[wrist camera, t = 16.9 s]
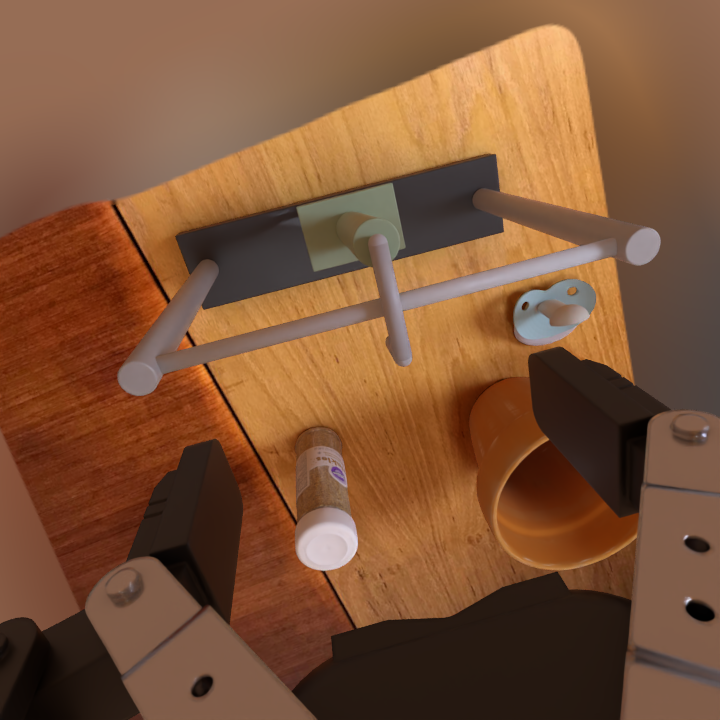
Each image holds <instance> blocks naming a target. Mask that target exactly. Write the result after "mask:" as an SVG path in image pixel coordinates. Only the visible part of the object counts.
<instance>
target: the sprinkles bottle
mask: <svg viewBox="0 0 720 720" xmlns="http://www.w3.org/2000/svg"><path fill="white" fill-rule="evenodd" d="M295 452H296V460H297V462H296V507H297V526H296V529H295V548H296V554H297V556H298V558H299V559H300V561H301V562H302V563H303V564H304V565H306V566H308V567H309V568H312V569H315V570H322V571H325V570H333V569H336V568H339V567H341V566H343V565H345V564H346V563H348V562H349V561H350V560H351V559H352V558H353V556H354V555H355V553H356V551H357V546H358V539H357V531H356V526H355V523H354V521H353V519H352V517H351V509H350V503H349V497H348V490H347V478H346V472H345V465H344V461H343V457H342V443H341V440H340V438H339V436H338V435H337V434H336V433H335V432H334V431H333V430H331V429H329V428H325V427H315V428H311V429H308V430H306V431H305V432H303V433H302V434H301V435H300V436H299V437H298V439H297V441H296V444H295Z"/></svg>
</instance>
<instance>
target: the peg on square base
mask: <svg viewBox="0 0 720 720" xmlns="http://www.w3.org/2000/svg"><path fill="white" fill-rule="evenodd" d="M296 209H297V213H298V216H299V220H300V224H301V227H302V231H303V235H304V238H305V242H306V246H307V249H308V253H309V257H310V261H311V264H312V268H313V271H314V272H316V271H320V270H324V269H327V268H331V267H335V266H339V265H343V264H347V263H350V262H354V261H358V260H359V261H360V262H361V263H363V264H365V265H367V266H369V267H373V269H374V274H375V278H376V282H377V287H378V291H379V295H380V300H381V304H382V308H383V313H384V317H385V321H386V326H387V330H388V334H389V336H388V337H387V338H386V346H387V348H388V350H389V352H390V353H391V355H392V357H393V359H394V361H395V362H396V364H398V365H399V366H403V367H404V366H407V365H409V364H410V363H411V361H412V352H411V347H410V343H409V338H408V334H407V329H406V324H405V320H404V315H403V311H402V306H401V301H400V297H399V292H398V288H397V283H396V278H395V274H394V269H393V265H392V260H393V259H394V258H395V257H396V255H397V253H398V251H399V250H400V249H404V248H405V242H404V237H403V232H402V227H401V222H400V218H399V213H398V208H397V203H396V198H395V193H394V189H393V184H392V183H388V184H383V185H379V186H375V187H371V188H367V189H363V190H360V191H356V192H352V193H348V194H344V195H340V196H336V197H332V198H328V199H324V200H320V201H317V202H313V203H309V204H305V205H301V206H297V207H296Z"/></svg>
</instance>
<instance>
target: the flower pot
mask: <svg viewBox="0 0 720 720" xmlns="http://www.w3.org/2000/svg"><path fill="white" fill-rule="evenodd" d="M469 430H470V435H471V439H472V444H473V448H474V452H475V456H476V460H477V465H478V468H479V471H478V476H477V496H478V501H479V504H480V507H481V510H482V512H483V514H484V517H485V519H486V521H487V523H488V525H489V527H490V529H491V531H492V533H493V535H494V537H495V539H496V540H497V542H498V544H499V545H500V546H501V548H502V549H503V550H504V551H505V552H506V553H507V554H508V555H509V556H511V557H512V558H513V559H515V560H517V561H518V562H520V563H523V564H525V565H527V566H530V567H534V568H538V569H545V570H568V569H574V568H579V567H583V566H586V565H590V564H593V563H595V562H598V561H600V560H602V559H605V558H607V557H609V556H610V555H612V554H614V553H616V552H617V551H619V550H621V549H622V548H624V547H625V546H626V545H628V544H629V543H630V542H632V541H633V540H634V539H635V538H636V537H637V531H638V519H639V513H636V514H632V515H629V516H625V517H622V518H619V517H618V516H617V515H616V514H615V513H614V511H613V510H612V509H611V508H610V507H609V506H608V505H607V504H606V503H605V501H604V500H603V499H602V498H601V497H600V496H599V495H598V494H597V492H596V491H595V490H594V489H593V488H592V487H591V486H590V485H589V483H588V482H587V481H586V480H585V479H584V478H583V477H582V476H581V475H580V473H579V472H578V471H577V470H576V469H575V468H574V467H573V466H572V464H571V463H570V462H569V461H568V460H567V459H566V458H565V457H564V455H563V454H562V453H561V452H560V451H559V450H558V449H557V448H556V447H555V445H554V444H553V443H552V442H551V441H550V440H549V439H548V438H547V436H546V435H545V434H544V433H543V432H542V431H541V429H540V428H539V426H538V424H537V422H536V420H535V417H534V413H533V409H532V399H531V388H530V378H527V377H513V378H508V379H505V380H502V381H499V382H497V383H495V384H494V385H492V386H490V387H489V388H488V389H486V390H485V391H484V392H483V393H482V394H481V395H480V397H479V398H478V399H477V401H476V402H475V404H474V405H473V408H472V410H471V413H470V418H469Z"/></svg>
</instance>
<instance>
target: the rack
mask: <svg viewBox="0 0 720 720" xmlns="http://www.w3.org/2000/svg"><path fill="white" fill-rule="evenodd" d="M388 183H392V184H393V189H394V193H395V198H396V203H397V208H398V213H399V218H400V222H401V227H402V232H403V237H404V242H405V248H404V249H400V250H399V251H398V253H397V255H396V257H395V258H394V259H393V260H392V261H394V260H398V259H402V258H405V257H409V256H413V255H417V254H421V253H425V252H429V251H432V250H436V249H440V248H444V247H448V246H452V245H456V244H459V243H463V242H467V241H471V240H475V239H479V238H483V237H486V236H490V235H494V234H498V233H502V232H504V228H503V218H504V219H507V220H510V221H512V222H515V223H518V224H521V225H524V226H526V227H529V228H532V229H535V230H538V231H540V232H543V233H546V234H549V235H551V236H554V237H557V238H560V239H563V240H565V241H568V242H571V243H574V244H577V245H579V247H575V248H571V249H567V250H563V251H559V252H556V253H552V254H548V255H544V256H540V257H536V258H533V259H529V260H525V261H521V262H517V263H513V264H510V265H506V266H502V267H498V268H494V269H490V270H487V271H483V272H479V273H475V274H471V275H467V276H464V277H460V278H456V279H452V280H448V281H444V282H441V283H437V284H433V285H429V286H425V287H421V288H418V289H414V290H410V291H406V292H402V293H399V297H400V301H401V306H402V311H406V310H410V309H413V308H417V307H421V306H425V305H429V304H432V303H436V302H440V301H444V300H448V299H452V298H455V297H459V296H463V295H467V294H471V293H475V292H478V291H482V290H486V289H490V288H494V287H497V286H501V285H505V284H509V283H513V282H517V281H520V280H524V279H528V278H532V277H536V276H539V275H543V274H547V273H551V272H555V271H559V270H562V269H566V268H570V267H574V266H578V265H582V264H585V263H589V262H593V261H597V260H601V259H604V258H608V257H613V258H616V259H618V260H621V261H624V262H627V263H630V264H633V265H643V264H646V263H648V262H649V261H651V260H652V259H653V258H654V257H655V256H656V254H657V253H658V251H659V248H660V236H659V234H658V233H657V232H656V231H655V230H654V229H652V228H648V227H644V226H640V225H635V224H631V223H627V222H623V221H619V220H614V219H611V218H606V217H602V216H598V215H594V214H590V213H585V212H581V211H577V210H573V209H569V208H565V207H560V206H556V205H552V204H548V203H544V202H540V201H535V200H531V199H527V198H523V197H519V196H514V195H510V194H506V193H502V192H500V189H499V179H498V169H497V159H496V154H486V155H482V156H478V157H474V158H470V159H466V160H462V161H458V162H454V163H450V164H446V165H442V166H439V167H435V168H431V169H427V170H423V171H419V172H415V173H411V174H407V175H403V176H399V177H395V178H392V179H388V180H384V181H380V182H376V183H372V184H368V185H364V186H360V187H356V188H352V189H348V190H344V191H341V192H337V193H333V194H329V195H325V196H321V197H317V198H313V199H309V200H305V201H301V202H297V203H294V204H290V205H286V206H282V207H278V208H274V209H270V210H266V211H262V212H258V213H254V214H250V215H246V216H243V217H239V218H235V219H231V220H227V221H223V222H219V223H215V224H211V225H207V226H203V227H199V228H196V229H192V230H188V231H184V232H180V233H178V234H177V235H176V236H175V237H176V240H177V242H178V245H179V248H180V250H181V253H182V255H183V258H184V261H185V263H186V266H187V268H188V271H189V274H190V276H189V277H188V279H187V280H186V281H185V283H184V284H183V285H182V287H181V288H180V289H179V291H178V292H177V293H176V295H175V296H174V297H173V299H172V300H171V301H170V303H169V304H168V305H167V307H166V308H165V309H164V311H163V312H162V313H161V315H160V316H159V317H158V319H157V320H156V321H155V323H154V324H153V325H152V327H151V328H150V329H149V330H148V332H147V333H146V334H145V336H144V337H143V338H142V340H141V341H140V342H139V344H138V345H137V346H136V348H135V349H134V350H133V352H132V353H131V354H130V356H129V357H128V358H127V360H126V361H125V362H124V364H123V365H122V366H121V368H120V369H119V371H118V382H119V384H120V386H121V387H122V388H123V389H124V390H125V391H126V392H128V393H130V394H132V395H136V396H143V395H147V394H149V393H151V392H153V391H154V390H155V389H156V387H157V385H158V383H159V381H160V380H161V378H162V376H163V374H165V373H169V372H173V371H177V370H180V369H184V368H188V367H192V366H196V365H199V364H203V363H207V362H211V361H215V360H219V359H222V358H226V357H230V356H234V355H238V354H241V353H245V352H249V351H253V350H257V349H261V348H264V347H268V346H272V345H276V344H280V343H283V342H287V341H291V340H295V339H299V338H303V337H306V336H310V335H314V334H318V333H322V332H326V331H329V330H333V329H337V328H341V327H345V326H348V325H352V324H356V323H360V322H364V321H368V320H371V319H375V318H379V317H383V316H384V313H383V308H382V304H381V300H380V298H379V299H375V300H372V301H368V302H364V303H360V304H356V305H352V306H349V307H345V308H341V309H337V310H333V311H329V312H326V313H322V314H318V315H314V316H310V317H306V318H303V319H299V320H295V321H291V322H287V323H283V324H280V325H276V326H272V327H268V328H264V329H260V330H257V331H253V332H249V333H245V334H241V335H237V336H234V337H230V338H226V339H222V340H218V341H214V342H211V343H207V344H203V345H199V346H195V347H191V348H188V349H184V350H180V351H176V350H177V349H178V347H179V345H180V343H181V341H182V339H183V338H184V336H185V334H186V332H187V330H188V328H189V327H190V325H191V323H192V321H193V319H194V318H195V316H196V314H197V312H198V310H199V308H200V307H201V305H202V308H203V309H204V310H205V309H209V308H213V307H216V306H220V305H224V304H228V303H232V302H236V301H240V300H243V299H247V298H251V297H255V296H259V295H263V294H267V293H270V292H274V291H278V290H282V289H286V288H290V287H294V286H297V285H301V284H305V283H309V282H313V281H317V280H321V279H324V278H328V277H332V276H336V275H340V274H344V273H348V272H351V271H355V270H359V269H363V268H367V267H369V266H367V265H365V264H363V263H361V262H360V261H359V260H358V261H354V262H350V263H347V264H343V265H339V266H335V267H331V268H327V269H324V270H320V271H316V272H314V271H313V268H312V264H311V261H310V257H309V253H308V249H307V246H306V242H305V238H304V235H303V231H302V227H301V224H300V220H299V216H298V213H297V209H296V207H297V206H301V205H305V204H309V203H313V202H317V201H320V200H324V199H328V198H332V197H336V196H340V195H344V194H348V193H352V192H356V191H360V190H363V189H367V188H371V187H375V186H379V185H383V184H388Z"/></svg>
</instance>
